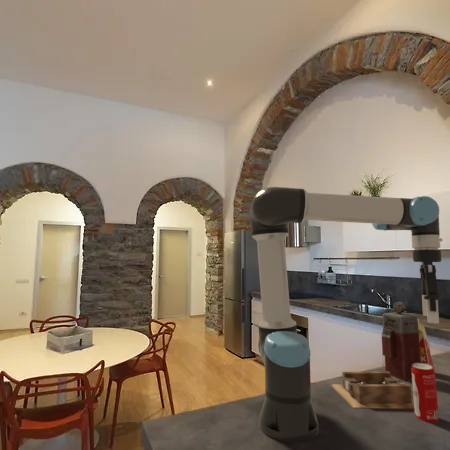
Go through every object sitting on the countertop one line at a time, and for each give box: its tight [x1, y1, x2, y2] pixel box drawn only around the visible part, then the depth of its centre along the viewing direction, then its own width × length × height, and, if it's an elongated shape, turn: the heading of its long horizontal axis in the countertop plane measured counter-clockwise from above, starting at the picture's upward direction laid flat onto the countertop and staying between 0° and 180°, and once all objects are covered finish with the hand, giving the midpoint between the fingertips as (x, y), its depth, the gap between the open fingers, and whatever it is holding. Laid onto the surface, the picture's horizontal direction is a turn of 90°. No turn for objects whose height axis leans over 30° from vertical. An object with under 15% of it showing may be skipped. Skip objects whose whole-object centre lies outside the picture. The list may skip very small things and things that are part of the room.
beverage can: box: [411, 363, 440, 423], centre depth 91 cm, size 6×6×15 cm
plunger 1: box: [345, 381, 367, 391], centre depth 106 cm, size 7×2×2 cm, turn 92°
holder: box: [331, 370, 415, 410], centre depth 106 cm, size 22×18×6 cm
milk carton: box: [418, 318, 436, 371], centre depth 133 cm, size 9×9×20 cm
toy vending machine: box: [381, 301, 421, 382], centre depth 128 cm, size 9×11×28 cm
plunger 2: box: [382, 379, 406, 384], centre depth 106 cm, size 7×2×2 cm, turn 92°
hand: (430, 319), depth 99 cm, fingers open, 13 cm apart
